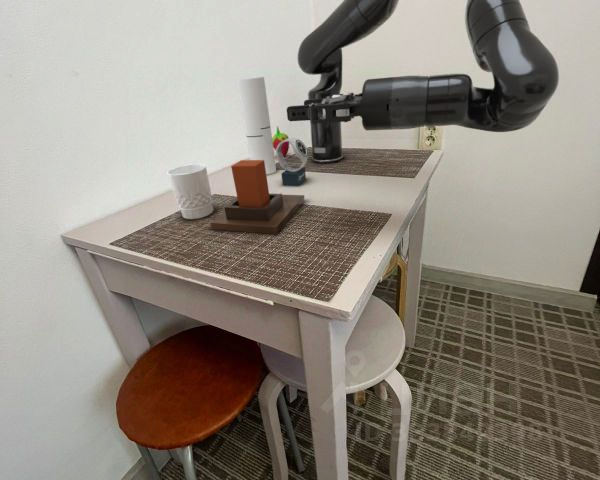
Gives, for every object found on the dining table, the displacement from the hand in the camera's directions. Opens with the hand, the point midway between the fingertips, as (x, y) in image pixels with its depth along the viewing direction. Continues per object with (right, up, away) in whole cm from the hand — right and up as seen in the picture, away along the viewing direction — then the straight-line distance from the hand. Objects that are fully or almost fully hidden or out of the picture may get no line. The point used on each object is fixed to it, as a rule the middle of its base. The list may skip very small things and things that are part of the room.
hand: (296, 110), depth 56 cm
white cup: (-22, -16, +17) cm, 32 cm away
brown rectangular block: (-8, -17, +10) cm, 21 cm away
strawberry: (-6, +6, +56) cm, 57 cm away
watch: (-1, -7, +30) cm, 31 cm away
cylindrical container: (-10, -2, +42) cm, 43 cm away
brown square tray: (-8, -17, +13) cm, 22 cm away
